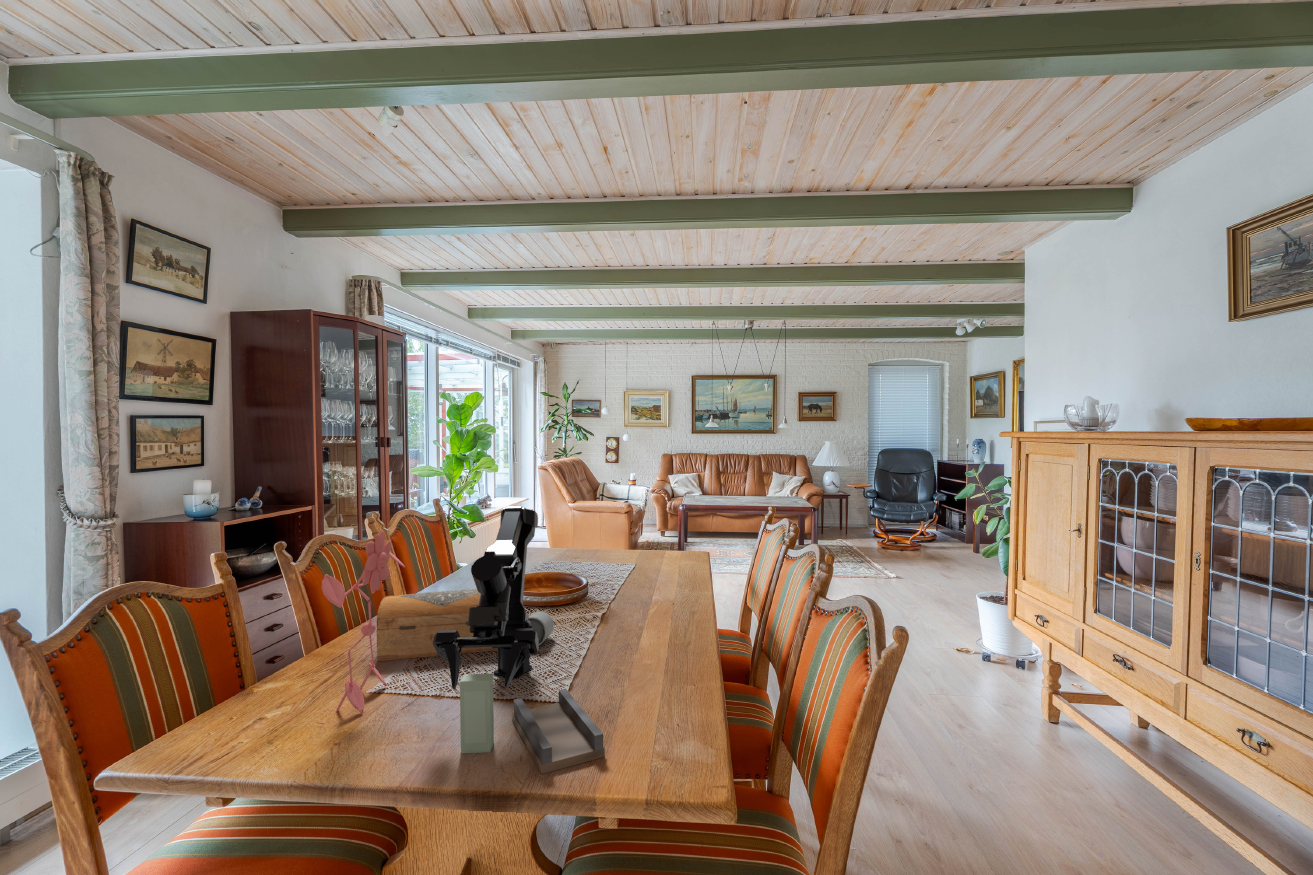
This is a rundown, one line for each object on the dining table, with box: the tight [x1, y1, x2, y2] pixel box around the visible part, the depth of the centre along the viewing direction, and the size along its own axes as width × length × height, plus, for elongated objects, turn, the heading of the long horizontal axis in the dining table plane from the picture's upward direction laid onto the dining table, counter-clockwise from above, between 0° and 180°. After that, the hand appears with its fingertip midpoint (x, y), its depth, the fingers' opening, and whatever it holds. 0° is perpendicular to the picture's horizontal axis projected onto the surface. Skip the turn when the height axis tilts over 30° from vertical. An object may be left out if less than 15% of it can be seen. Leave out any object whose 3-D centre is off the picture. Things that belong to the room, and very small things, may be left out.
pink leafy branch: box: [315, 530, 422, 725], centre depth 123 cm, size 15×26×35 cm, turn 0°
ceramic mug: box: [528, 611, 555, 646], centre depth 157 cm, size 11×8×8 cm
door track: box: [511, 688, 606, 775], centre depth 108 cm, size 20×11×4 cm, turn 27°
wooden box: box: [376, 588, 498, 662], centre depth 155 cm, size 30×16×14 cm, turn 103°
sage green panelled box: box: [459, 673, 495, 754], centre depth 104 cm, size 3×5×12 cm, turn 93°
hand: (479, 687), depth 106 cm, fingers open, 9 cm apart
